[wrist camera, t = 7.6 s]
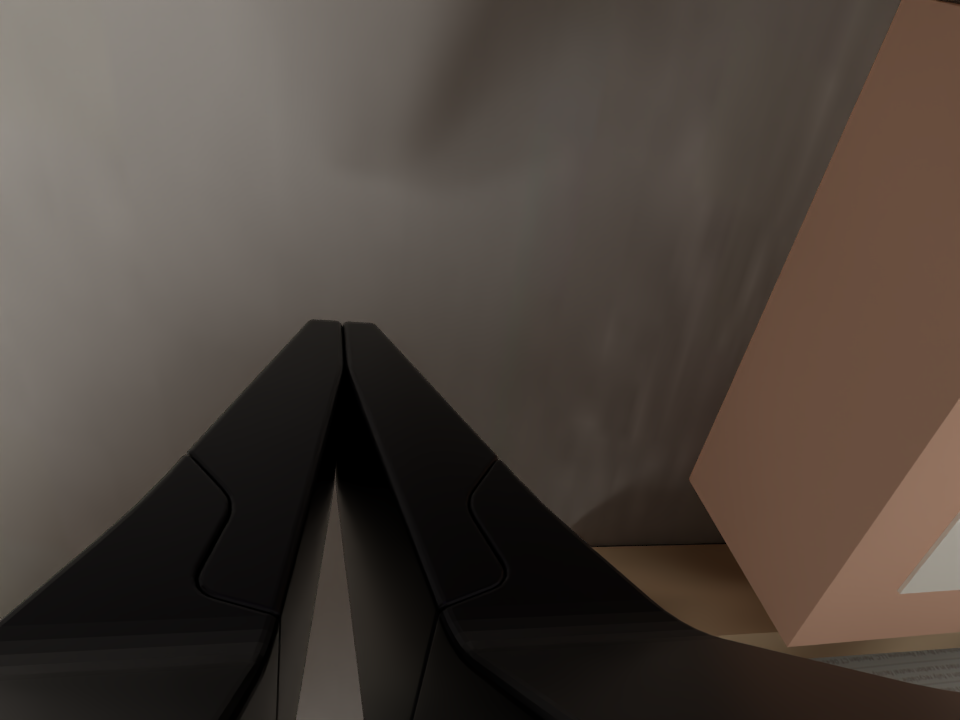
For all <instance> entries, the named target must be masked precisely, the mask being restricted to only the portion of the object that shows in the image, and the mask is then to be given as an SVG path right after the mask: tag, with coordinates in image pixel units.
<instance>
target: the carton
mask: <svg viewBox="0 0 960 720" xmlns="http://www.w3.org/2000/svg"><path fill="white" fill-rule="evenodd" d="M689 481H690V482H691V484H692V486H693V487H694V489H695V491H696V493H697V494H698V496H699V498H700V499H701V501H702V503H703V504H704V506H705V508H706V510H707V511H708V513H709V515H710V516H711V518H712V520H713V522H714V523H715V525H716V527H717V528H718V530H719V532H720V534H721V535H722V537H723V539H724V540H725V542H726V544H727V545H728V547H729V549H730V551H731V552H732V554H733V556H734V557H735V559H736V561H737V563H738V564H739V566H740V568H741V569H742V571H743V573H744V575H745V576H746V578H747V580H748V581H749V583H750V585H751V586H752V588H753V590H754V592H755V593H756V595H757V597H758V598H759V600H760V602H761V604H762V605H763V607H764V609H765V610H766V612H767V614H768V616H769V617H770V619H771V621H772V622H773V624H774V626H775V627H776V629H777V631H778V633H779V634H780V636H781V638H782V639H783V641H784V643H785V645H786V646H787V647H796V646H807V645H818V644H830V643H841V642H852V641H864V640H875V639H886V638H897V637H909V636H920V635H931V634H943V633H954V632H960V4H957V3H951V2H945V1H939V0H901V3H900V5H899V7H898V9H897V12H896V14H895V16H894V18H893V21H892V23H891V25H890V27H889V30H888V32H887V34H886V36H885V39H884V41H883V43H882V45H881V48H880V50H879V52H878V54H877V57H876V59H875V61H874V63H873V66H872V68H871V70H870V72H869V75H868V77H867V79H866V81H865V84H864V86H863V88H862V90H861V93H860V95H859V97H858V99H857V102H856V104H855V106H854V109H853V111H852V113H851V115H850V118H849V120H848V122H847V124H846V127H845V129H844V131H843V133H842V136H841V138H840V140H839V142H838V145H837V147H836V149H835V151H834V154H833V156H832V158H831V160H830V163H829V165H828V167H827V169H826V172H825V174H824V176H823V178H822V181H821V183H820V185H819V187H818V190H817V192H816V194H815V196H814V199H813V201H812V203H811V205H810V208H809V210H808V212H807V214H806V217H805V219H804V221H803V223H802V226H801V228H800V230H799V232H798V235H797V237H796V239H795V241H794V244H793V246H792V248H791V250H790V253H789V255H788V257H787V259H786V262H785V264H784V266H783V268H782V271H781V273H780V275H779V277H778V280H777V282H776V284H775V286H774V289H773V291H772V293H771V295H770V298H769V300H768V302H767V304H766V307H765V309H764V311H763V313H762V316H761V318H760V320H759V322H758V325H757V327H756V329H755V331H754V334H753V336H752V338H751V340H750V343H749V345H748V347H747V349H746V352H745V354H744V356H743V358H742V361H741V363H740V365H739V367H738V370H737V372H736V374H735V376H734V379H733V381H732V383H731V385H730V388H729V390H728V392H727V394H726V397H725V399H724V401H723V403H722V406H721V408H720V410H719V412H718V415H717V417H716V419H715V421H714V424H713V426H712V428H711V430H710V433H709V435H708V437H707V439H706V442H705V444H704V446H703V448H702V451H701V453H700V455H699V457H698V460H697V462H696V464H695V466H694V469H693V471H692V473H691V475H690V478H689Z"/></svg>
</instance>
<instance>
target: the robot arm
mask: <svg viewBox="0 0 960 720" xmlns="http://www.w3.org/2000/svg"><path fill="white" fill-rule="evenodd" d="M335 468H336V491H337V502H338V510H339V518H340V527H341V535H342V543H343V551H344V560H345V568H346V576H347V585H348V593H349V601H350V609H351V618H352V626H353V634H354V643H355V651H356V659H357V667H358V676H359V684H360V692H361V701H362V709H363V717H364V720H960V692H957V691H950V690H944V689H938V688H933V687H928V686H923V685H918V684H913V683H908V682H904V681H900V680H896V679H892V678H887V677H883V676H879V675H875V674H870V673H866V672H862V671H858V670H854V669H849V668H845V667H841V666H837V665H833V664H828V663H824V662H820V661H816V660H812V659H807V658H803V657H799V656H795V655H791V654H786V653H782V652H778V651H774V650H769V649H765V648H761V647H757V646H753V645H748V644H744V643H740V642H736V641H732V640H727V639H723V638H720V637H716V636H713V635H710V634H708V633H705V632H703V631H700V630H698V629H696V628H694V627H692V626H690V625H688V624H686V623H684V622H682V621H681V620H679V619H678V618H676V617H675V616H673V615H672V614H670V613H669V612H667V611H666V610H665V609H663V608H662V607H661V606H660V605H658V604H657V603H656V602H655V601H653V600H652V599H651V598H650V597H649V596H648V595H646V594H645V593H644V592H643V591H642V590H641V589H639V588H638V587H637V586H636V585H635V584H634V583H632V582H631V581H630V580H629V579H628V578H627V577H626V576H624V575H623V574H622V573H621V572H620V571H619V570H617V569H616V568H615V567H614V566H613V565H612V564H611V563H609V562H608V561H607V560H606V559H605V558H604V557H602V556H601V555H600V554H599V553H598V552H597V551H595V550H594V549H593V548H592V547H591V546H590V545H589V544H587V543H586V542H585V541H584V540H583V539H582V538H580V537H579V536H578V535H577V534H576V533H575V532H574V531H572V530H571V529H570V528H569V527H568V526H567V525H566V524H565V523H564V522H563V521H561V520H560V519H559V518H558V517H557V516H556V515H555V514H554V513H553V512H552V511H550V510H549V509H548V508H547V507H546V506H545V505H544V504H543V503H542V502H541V501H540V500H539V499H538V498H537V497H536V496H535V495H534V494H533V493H532V492H531V491H530V490H529V489H528V488H527V487H526V486H525V485H524V484H523V483H522V482H521V481H520V480H519V479H518V478H517V477H516V476H515V475H514V474H513V472H512V471H511V470H510V469H509V468H508V467H507V466H506V465H505V464H504V463H503V462H502V461H501V460H498V457H497V456H496V454H495V453H494V452H493V451H492V450H491V449H490V448H489V447H488V446H487V445H486V444H485V443H484V442H483V440H482V439H481V438H480V437H479V436H478V435H477V434H476V433H475V432H474V431H473V430H472V429H471V427H470V426H469V425H468V424H467V423H466V422H465V421H464V420H463V419H462V418H461V417H460V416H459V415H458V413H457V412H456V411H455V410H454V409H453V408H452V407H451V406H450V405H449V404H448V403H447V402H446V401H445V399H444V398H443V397H442V396H441V395H440V394H439V393H438V392H437V391H436V390H435V389H434V388H433V386H432V385H431V384H430V383H429V382H428V381H427V380H426V379H425V378H424V377H423V376H422V375H421V374H420V372H419V371H418V370H417V369H416V368H415V367H414V366H413V365H412V364H411V363H410V362H409V361H408V359H407V358H406V357H405V356H404V355H403V354H402V353H401V352H400V351H399V350H398V349H397V348H396V347H395V345H394V344H393V343H392V342H391V341H390V340H389V339H388V338H387V337H386V336H385V335H384V334H383V333H382V331H381V330H380V329H379V328H378V327H377V326H376V325H375V324H373V323H363V322H346V323H344V324H343V326H342V325H341V323H340V322H339V321H332V320H316V319H312V320H310V321H308V322H307V323H306V324H305V325H304V327H303V328H302V329H301V330H300V331H299V332H298V333H297V334H296V335H295V336H294V337H293V338H292V340H291V341H290V342H289V343H288V344H287V345H286V346H285V347H284V348H283V349H282V350H281V351H280V353H279V354H278V355H277V356H276V357H275V358H274V359H273V360H272V361H271V362H270V363H269V364H268V365H267V367H266V368H265V369H264V370H263V371H262V372H261V373H260V374H259V375H258V376H257V377H256V378H255V380H254V381H253V382H252V383H251V384H250V385H249V386H248V387H247V388H246V389H245V390H244V391H243V393H242V394H241V395H240V396H239V397H238V398H237V399H236V400H235V401H234V402H233V403H232V404H231V405H230V407H229V408H228V409H227V410H226V411H225V412H224V413H223V414H222V415H221V416H220V417H219V418H218V420H217V421H216V422H215V423H214V424H213V425H212V426H211V427H210V428H209V429H208V430H207V431H206V432H205V434H204V435H203V436H202V437H201V438H200V439H199V440H198V441H197V442H196V443H195V444H194V445H193V447H192V448H191V449H190V450H189V451H188V452H187V455H185V456H183V457H182V458H181V459H180V460H179V461H178V462H177V463H176V464H175V465H174V467H173V468H172V469H171V470H170V471H169V472H168V473H167V474H166V475H165V476H164V477H163V478H162V479H161V480H160V481H159V482H158V483H157V484H156V485H155V486H154V487H153V488H152V489H151V490H150V491H149V492H148V493H147V494H146V495H145V496H144V497H143V498H142V499H141V500H140V501H139V502H138V503H137V504H136V505H135V506H134V507H133V508H132V509H131V510H130V511H129V512H127V513H126V514H125V515H124V516H123V517H122V518H121V519H120V520H118V521H117V522H116V523H115V524H114V525H113V526H112V527H111V528H109V529H108V530H107V531H106V532H105V533H104V534H103V535H102V536H100V537H99V538H98V539H97V540H96V541H95V542H93V543H92V544H91V545H90V546H89V547H87V548H86V549H85V550H84V551H83V552H82V553H80V554H79V555H78V556H77V557H76V558H74V559H73V560H72V561H71V562H70V563H68V564H67V565H66V566H65V567H64V568H62V569H61V570H60V571H59V572H58V573H57V574H55V575H54V576H53V577H52V578H51V579H49V580H48V581H47V582H46V583H45V584H43V585H42V586H41V587H40V588H39V589H38V590H36V591H35V592H34V593H33V594H32V595H30V596H29V597H28V598H27V599H26V600H24V601H23V602H22V603H21V604H20V605H18V606H17V607H16V608H15V609H14V610H13V611H11V612H10V613H9V614H8V615H7V616H5V617H4V618H3V619H2V620H1V621H0V720H296V715H297V709H298V703H299V697H300V691H301V685H302V679H303V672H304V666H305V660H306V654H307V648H308V642H309V636H310V630H311V624H312V618H313V612H314V606H315V600H316V594H317V587H318V581H319V575H320V569H321V563H322V557H323V551H324V545H325V539H326V533H327V527H328V521H329V515H330V509H331V502H332V496H333V488H334V479H335Z"/></svg>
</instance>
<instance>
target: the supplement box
mask: <svg viewBox="0 0 960 720" xmlns="http://www.w3.org/2000/svg"><path fill="white" fill-rule="evenodd" d="M809 659H812V660H816V661H820V662H824V663H828V664H833V665H837V666H841V667H845V668H849V669H854V670H858V671H862V672H866V673H870V674H875V675H879V676H883V677H887V678H892V679H896V680H900V681H904V682H908V683H913V684H918V685H923V686H928V687H933V688H938V689H944V690H950V691H957V692H960V648H949V649H935V650H921V651H907V652H893V653H879V654H865V655H851V656H837V657H823V658H809Z"/></svg>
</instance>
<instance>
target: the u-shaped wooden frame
mask: <svg viewBox="0 0 960 720" xmlns="http://www.w3.org/2000/svg"><path fill="white" fill-rule="evenodd" d="M592 548H593V549H594V550H595V551H597V552H598V553H599V554H600V555H601V556H602V557H604V558H605V559H606V560H607V561H608V562H609V563H611V564H612V565H613V566H614V567H615V568H616V569H617V570H619V571H620V572H621V573H622V574H623V575H624V576H626V577H627V578H628V579H629V580H630V581H631V582H632V583H634V584H635V585H636V586H637V587H638V588H639V589H641V590H642V591H643V592H644V593H645V594H646V595H648V596H649V597H650V598H651V599H652V600H653V601H655V602H656V603H657V604H658V605H660V606H661V607H662V608H663V609H665V610H666V611H667V612H669V613H670V614H672V615H673V616H675V617H676V618H678V619H679V620H681V621H682V622H684V623H686V624H688V625H690V626H692V627H694V628H696V629H698V630H700V631H703V632H705V633H708V634H710V635H713V636H716V637H720V638H723V639H727V640H732V641H736V642H740V643H744V644H748V645H753V646H757V647H761V648H765V649H769V650H774V651H778V652H782V653H786V654H791V655H795V656H799V657H803V658H807V659H809V658H823V657H837V656H851V655H865V654H879V653H893V652H907V651H921V650H935V649H949V648H960V632H954V633H943V634H931V635H920V636H909V637H897V638H886V639H875V640H864V641H852V642H841V643H830V644H818V645H807V646H796V647H787V646H786V645H785V643H784V641H783V639H782V638H781V636H780V634H779V633H778V631H777V629H776V627H775V626H774V624H773V622H772V621H771V619H770V617H769V616H768V614H767V612H766V610H765V609H764V607H763V605H762V604H761V602H760V600H759V598H758V597H757V595H756V593H755V592H754V590H753V588H752V586H751V585H750V583H749V581H748V580H747V578H746V576H745V575H744V573H743V571H742V569H741V568H740V566H739V564H738V563H737V561H736V559H735V557H734V556H733V554H732V552H731V551H730V549H729V547H728V545H727V544H712V545H667V546H622V547H592Z"/></svg>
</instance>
